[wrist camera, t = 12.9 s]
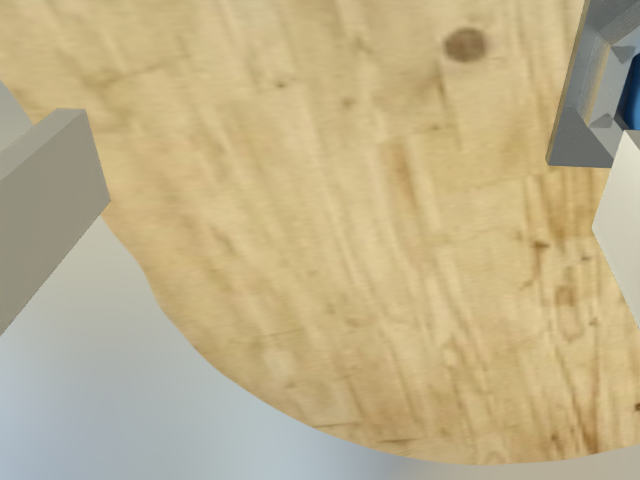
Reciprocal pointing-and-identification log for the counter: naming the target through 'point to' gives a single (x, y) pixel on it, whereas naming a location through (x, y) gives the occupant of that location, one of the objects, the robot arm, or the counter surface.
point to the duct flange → (597, 86)
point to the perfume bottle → (634, 99)
